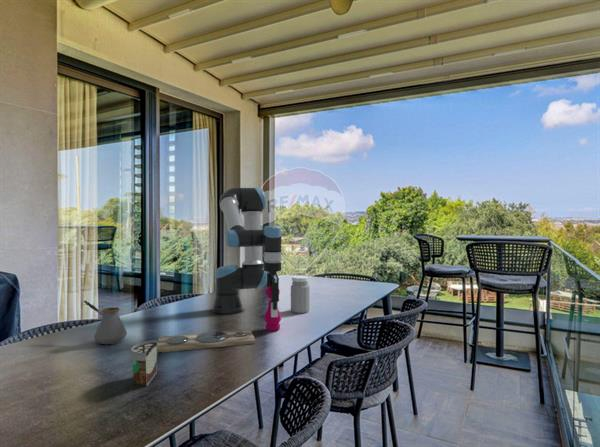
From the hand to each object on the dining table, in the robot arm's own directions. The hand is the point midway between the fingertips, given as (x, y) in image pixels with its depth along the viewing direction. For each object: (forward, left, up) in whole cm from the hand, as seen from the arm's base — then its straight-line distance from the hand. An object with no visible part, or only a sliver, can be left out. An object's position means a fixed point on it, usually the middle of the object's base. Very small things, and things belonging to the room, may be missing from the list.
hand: (272, 314), depth 161 cm
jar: (-27, +20, -7) cm, 34 cm away
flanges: (+8, -22, -5) cm, 24 cm away
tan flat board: (+8, -28, -7) cm, 30 cm away
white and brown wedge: (+37, -48, -7) cm, 61 cm away
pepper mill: (0, 0, -6) cm, 6 cm away
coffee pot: (-6, -68, -7) cm, 69 cm away
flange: (+8, -39, -5) cm, 40 cm away
